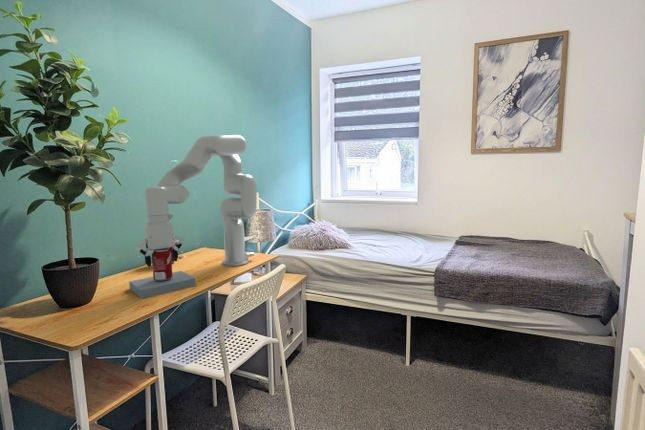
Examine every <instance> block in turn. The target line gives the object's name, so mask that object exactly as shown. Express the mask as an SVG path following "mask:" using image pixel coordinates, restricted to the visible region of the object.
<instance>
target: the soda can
mask: <svg viewBox="0 0 645 430" xmlns="http://www.w3.org/2000/svg"><path fill="white" fill-rule="evenodd" d="M151 267H152V277H153V279H154V280H156V281H159V282H162V281H167V280H170V279H171V278H172V277H173V276H172V273H173V264H172V261H171V252H170V251H169V248H165V249H159V250H152V252H151Z"/></svg>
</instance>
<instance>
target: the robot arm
mask: <svg viewBox="0 0 645 430" xmlns="http://www.w3.org/2000/svg"><path fill="white" fill-rule="evenodd" d="M246 149H247V141H246V138H244V137H243V136H241V135H239V134H231V135H230V134H229V135H226V134H225V135H222V134H221V135H205V136H204V135H203V136H201V137H199V138H197V140H196V141H195V142H194V144H193V145H192V147H191V148H190V150H189V151H188V153H187V154H186V155H185V156H184V158H183V160H182V161H181V162H179V163H178V164H176V165H175V166H174V167H172V168H171V169H170V170H168V171H167V172H166V173H165V174H164V175H163V176H162V177H161V179H160V180H159V182H158V183H157V185H156V186H148V187H146V188H145V191H144V194H145V205H146V217H147V218H146V219H147V223H145V226H144V240H142V241H140V242H139V243H138V244H136V245H135V248H136V249H137V250H138V252H139V253H140V254H142V255H143V256H144V263H145V265H147V266H148V267H149V268H150V267H152V255H151V254H152V253H153V250H159V249H165V248H170V247H171V248H172V249H173V250H172V258H173V260H174V262H178V259H179V250H180V249H181V247H182V246H183V242H184V241H185V239H184V238H183V237H180V236H178V235H177V236H176V235H175V230H174V227H173V222H172V221H171V219H174V216H173V214H170V210H169V209H170V208H169V205H181V204H184V203H186V202H187V201H188V200H189V198H190V190H189V189H188V188H187V187H186V186H184V185H182V183H184V182H185V181H187V180H189V179H191V178H194V177H196V176H198V175H200V174H201V173H203V170H204V169H205V167H206V166H207V164H208V163H209V162H210V160H211V158H212V157H219V158H220V160H221V162H222V165H223V190H224V193H227V194H228V195H234V196H235V195H237V196H238V195H239V196H240V197H234V196H233V197H225V198H224V199H223V200H222V201H221V203H220V206H219V207H220V213H221V214H220V215H221V219H222V224H223V240H224V241H223V242H224V243H223V245H224V247H223V248H224V259H222V261H221V265H223V266H227V267H236V266H237V267H238V266H244V265H247V264H249V260H250V259H249V258H251V257H255V253H254V252H252V251H251V252H246V245H245V243H246V241H245V238H246V237H245V225H244V222H243V219H247V220H248V219H251V218H253V217H255V215H256V212H257V211H256V210H257V189H258V187H257V183H256V179H255V178H254V177H253V176H252V175H251V174H243V163H242V160H241V157H240V156H239V155H242V154H243V153H244V152H245V151H246ZM175 239H176V240H178V242H177V245H176V246H175ZM143 247H145V250H144V249H143Z"/></svg>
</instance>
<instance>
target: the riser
mask: <svg viewBox="0 0 645 430" xmlns="http://www.w3.org/2000/svg"><path fill="white" fill-rule="evenodd" d="M172 276H173V277H172V278H171V279H170V280H167V281H162V282H159V281H156V280H154V279H153V276H149V277H144V278H140V279H135V280H129V283H128V284H129V290H131V292H133V293H134V294H135V295H137V296H138V297H139V298H140V299H145V298H149V297H154V296H159V295H161V294H166V293H171V292H175V291H178V290H182V289H183V290H184V289H187V288H191V287H195V286H197V280H196V279H197V277H195V276H193V275H190V274H188V273H187V272H185V271H183V270H179V271H174V272H173V271H172Z"/></svg>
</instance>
